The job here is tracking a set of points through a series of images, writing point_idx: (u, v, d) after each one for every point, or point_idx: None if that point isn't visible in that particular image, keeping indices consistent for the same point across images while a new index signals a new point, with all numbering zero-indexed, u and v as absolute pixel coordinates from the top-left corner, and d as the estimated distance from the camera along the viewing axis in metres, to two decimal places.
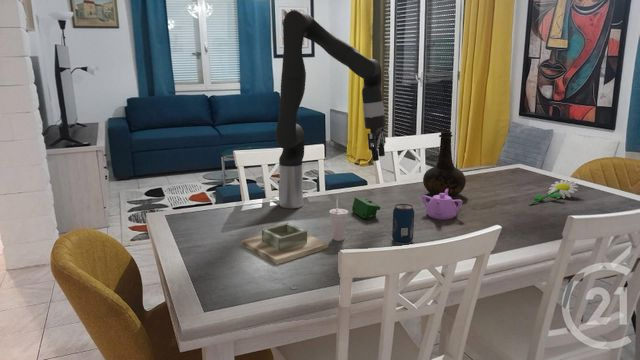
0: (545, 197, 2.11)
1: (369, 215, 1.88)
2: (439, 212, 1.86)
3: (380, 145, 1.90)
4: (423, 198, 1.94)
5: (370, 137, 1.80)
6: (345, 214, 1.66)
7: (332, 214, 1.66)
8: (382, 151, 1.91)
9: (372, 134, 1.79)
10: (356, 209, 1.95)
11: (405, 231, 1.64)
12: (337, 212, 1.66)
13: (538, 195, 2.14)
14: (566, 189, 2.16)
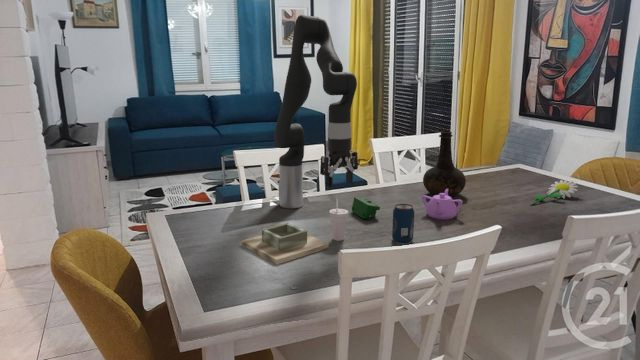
0: (545, 197, 2.11)
1: (368, 215, 1.88)
2: (439, 212, 1.86)
3: (348, 171, 1.67)
4: (423, 198, 1.94)
5: (322, 161, 1.59)
6: (345, 214, 1.66)
7: (332, 214, 1.66)
8: (349, 178, 1.67)
9: (324, 158, 1.58)
10: (355, 209, 1.95)
11: (405, 231, 1.64)
12: (337, 212, 1.66)
13: (538, 195, 2.13)
14: (566, 189, 2.16)
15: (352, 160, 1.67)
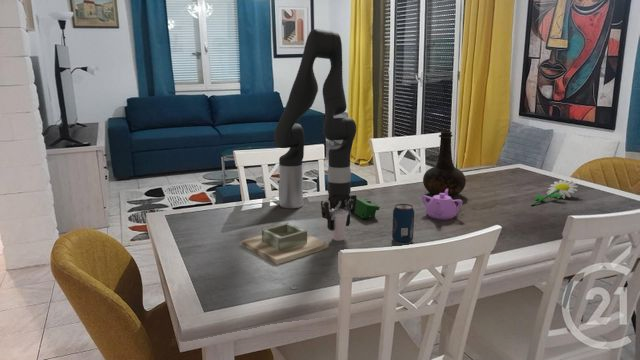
0: (546, 197, 2.11)
1: (368, 215, 1.88)
2: (439, 212, 1.86)
3: None
4: (423, 198, 1.94)
5: (323, 206, 1.63)
6: (345, 214, 1.66)
7: None
8: None
9: (324, 203, 1.62)
10: (355, 209, 1.95)
11: (405, 231, 1.64)
12: (337, 212, 1.66)
13: (539, 195, 2.13)
14: (566, 189, 2.16)
15: (350, 203, 1.70)
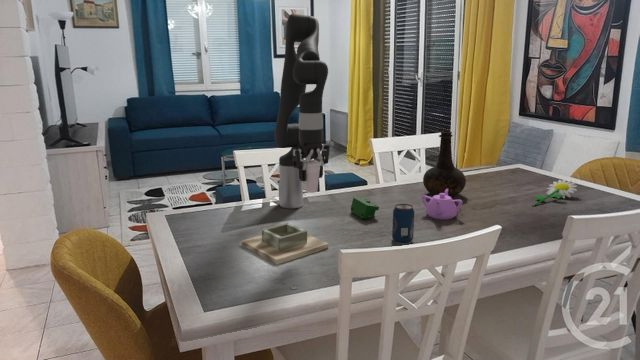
0: (546, 197, 2.10)
1: (367, 215, 1.88)
2: (439, 212, 1.86)
3: None
4: (423, 198, 1.94)
5: (293, 154, 1.55)
6: (318, 164, 1.58)
7: None
8: (319, 172, 1.62)
9: (295, 152, 1.54)
10: (354, 210, 1.95)
11: (405, 231, 1.64)
12: (309, 162, 1.58)
13: (539, 196, 2.13)
14: (565, 189, 2.16)
15: (323, 153, 1.63)
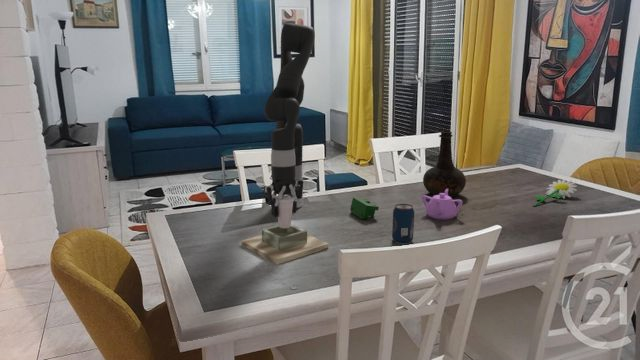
0: None
1: (367, 215, 1.88)
2: (439, 212, 1.86)
3: None
4: (423, 198, 1.94)
5: (265, 191, 1.55)
6: (290, 200, 1.57)
7: None
8: None
9: (266, 188, 1.54)
10: (354, 210, 1.95)
11: (405, 231, 1.64)
12: (282, 198, 1.58)
13: (539, 196, 2.13)
14: (565, 189, 2.16)
15: (297, 188, 1.62)
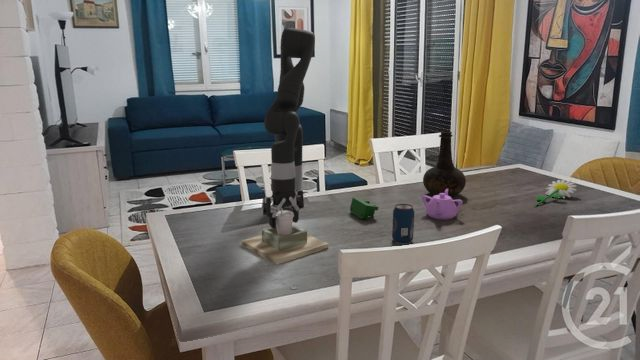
0: (547, 198, 2.10)
1: (366, 215, 1.88)
2: (439, 212, 1.86)
3: (294, 209, 1.63)
4: (423, 198, 1.94)
5: (265, 201, 1.55)
6: (289, 216, 1.59)
7: (276, 216, 1.59)
8: (294, 217, 1.63)
9: (266, 199, 1.54)
10: (353, 210, 1.94)
11: (405, 231, 1.64)
12: (281, 214, 1.59)
13: (540, 196, 2.12)
14: (565, 189, 2.16)
15: (298, 199, 1.63)
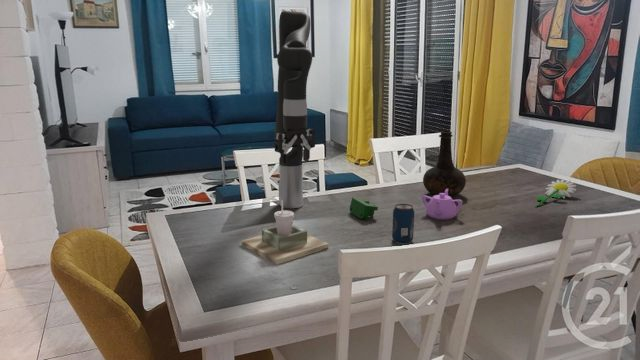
0: None
1: (366, 215, 1.88)
2: (439, 212, 1.86)
3: (305, 148, 1.65)
4: (423, 198, 1.94)
5: (276, 138, 1.58)
6: (290, 216, 1.59)
7: (276, 216, 1.59)
8: (306, 156, 1.66)
9: (278, 135, 1.57)
10: (353, 210, 1.94)
11: (405, 231, 1.64)
12: (282, 214, 1.59)
13: (540, 196, 2.12)
14: (565, 189, 2.16)
15: (309, 138, 1.65)
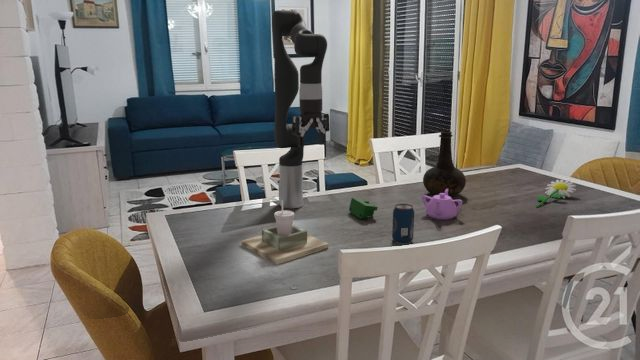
0: (548, 198, 2.10)
1: (366, 215, 1.88)
2: (439, 212, 1.86)
3: (320, 132, 1.72)
4: (423, 198, 1.94)
5: (294, 121, 1.64)
6: (290, 216, 1.59)
7: (276, 216, 1.59)
8: (321, 139, 1.72)
9: (295, 118, 1.63)
10: (353, 210, 1.94)
11: (405, 231, 1.64)
12: (282, 214, 1.59)
13: (540, 196, 2.12)
14: (565, 189, 2.16)
15: (324, 122, 1.72)
